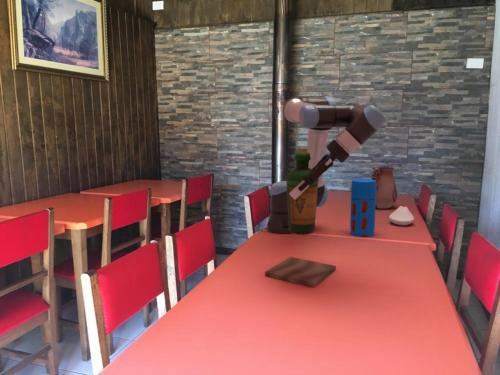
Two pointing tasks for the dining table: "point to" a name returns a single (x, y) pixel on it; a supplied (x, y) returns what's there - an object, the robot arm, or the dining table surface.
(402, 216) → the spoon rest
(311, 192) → the bottle
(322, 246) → the dining table surface
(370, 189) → the thermos
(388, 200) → the ceramic pitcher
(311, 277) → the walnut board
